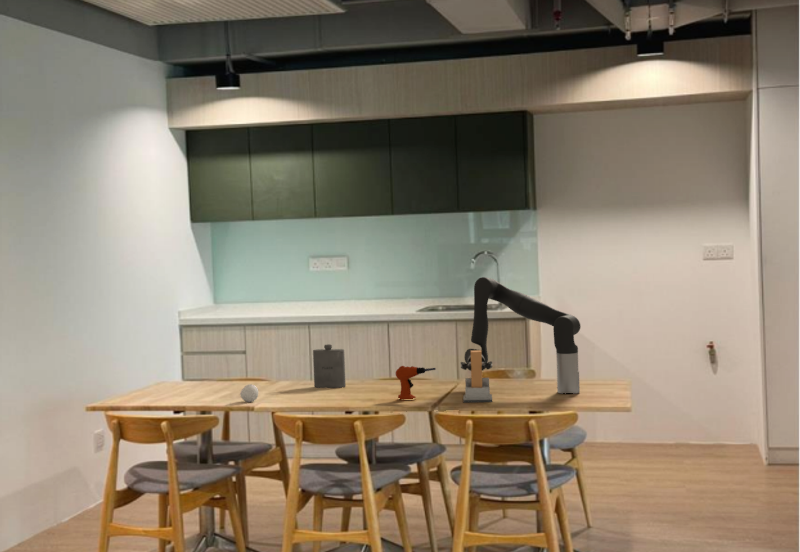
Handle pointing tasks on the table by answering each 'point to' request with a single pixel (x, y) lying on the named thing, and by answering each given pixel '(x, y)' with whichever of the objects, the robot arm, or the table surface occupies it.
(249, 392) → the gray round stone
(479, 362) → the orange block
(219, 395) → the table surface
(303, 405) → the table surface
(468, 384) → the block
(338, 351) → the flask
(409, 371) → the toy drill
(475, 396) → the vise
